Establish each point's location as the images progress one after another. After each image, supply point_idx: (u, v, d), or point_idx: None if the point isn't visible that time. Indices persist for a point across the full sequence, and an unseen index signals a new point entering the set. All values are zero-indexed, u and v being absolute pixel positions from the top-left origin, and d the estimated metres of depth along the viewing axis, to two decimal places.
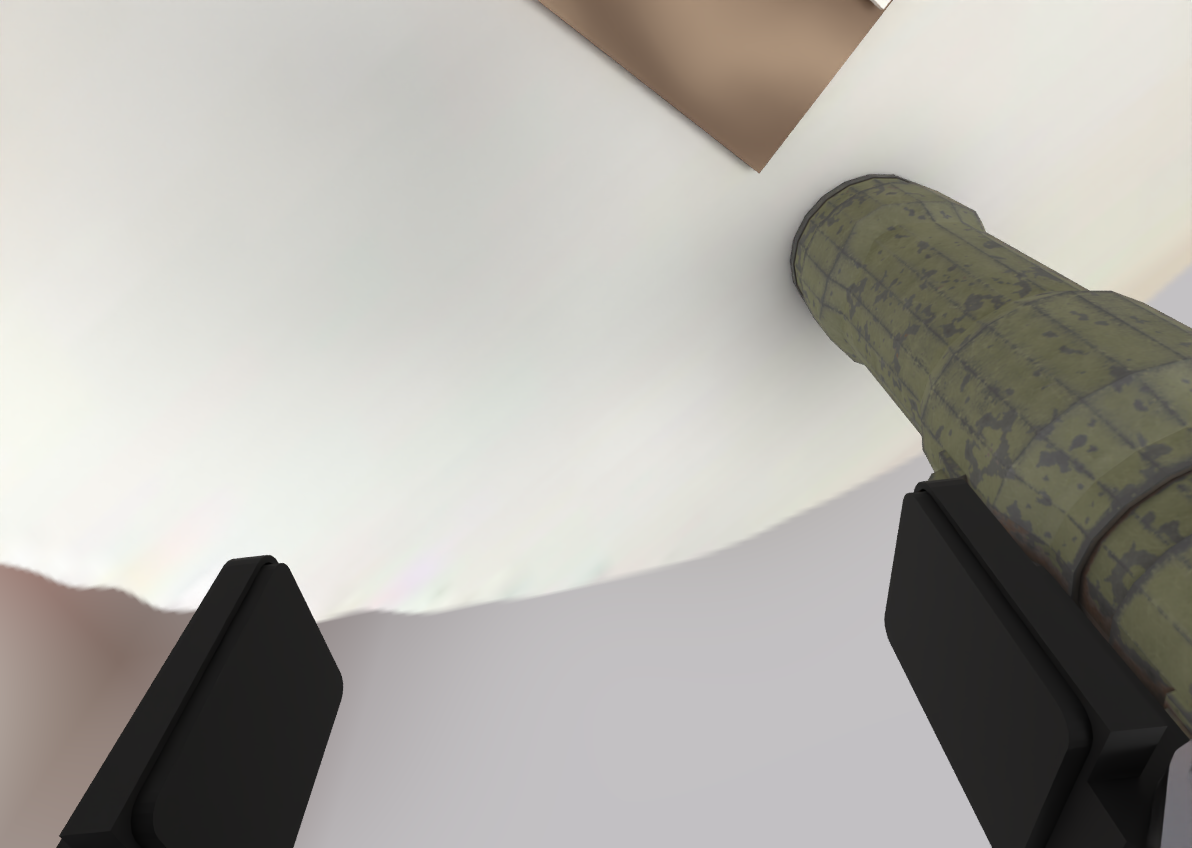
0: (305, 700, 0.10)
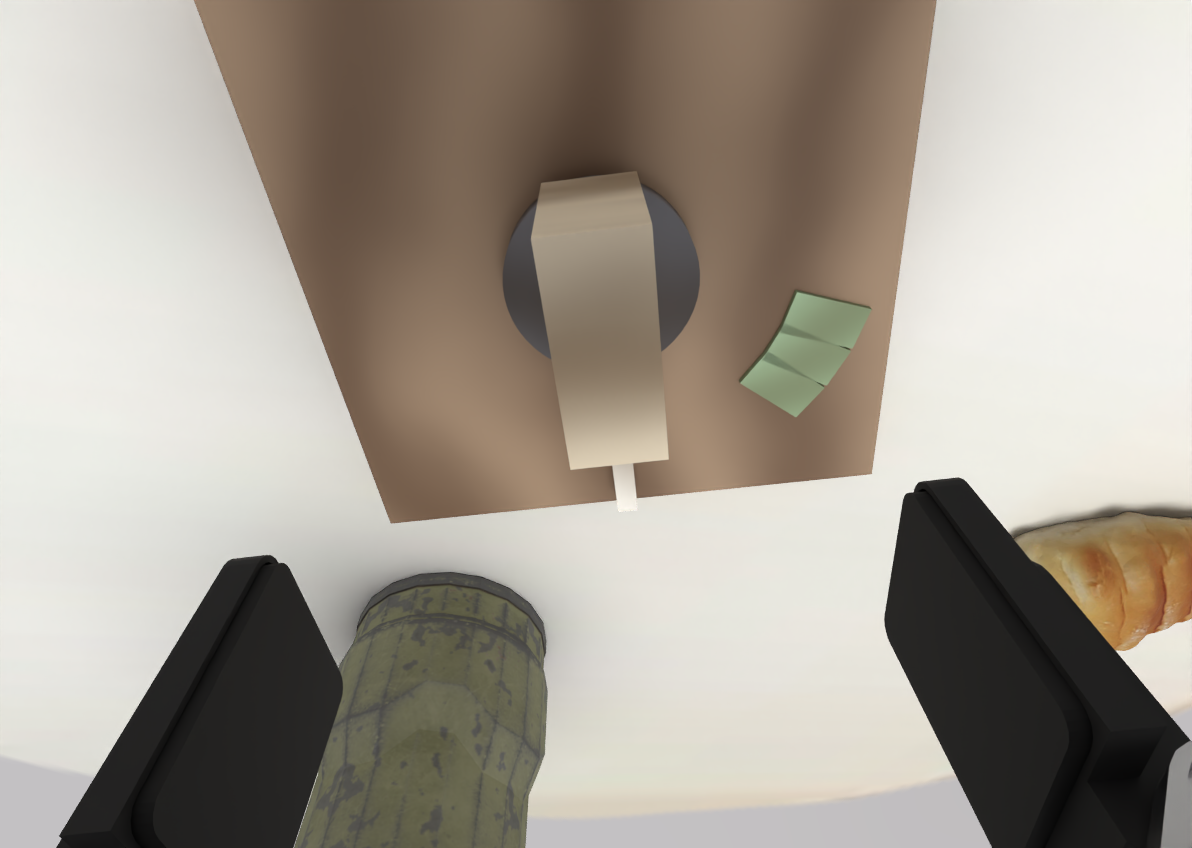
0: (305, 700, 0.10)
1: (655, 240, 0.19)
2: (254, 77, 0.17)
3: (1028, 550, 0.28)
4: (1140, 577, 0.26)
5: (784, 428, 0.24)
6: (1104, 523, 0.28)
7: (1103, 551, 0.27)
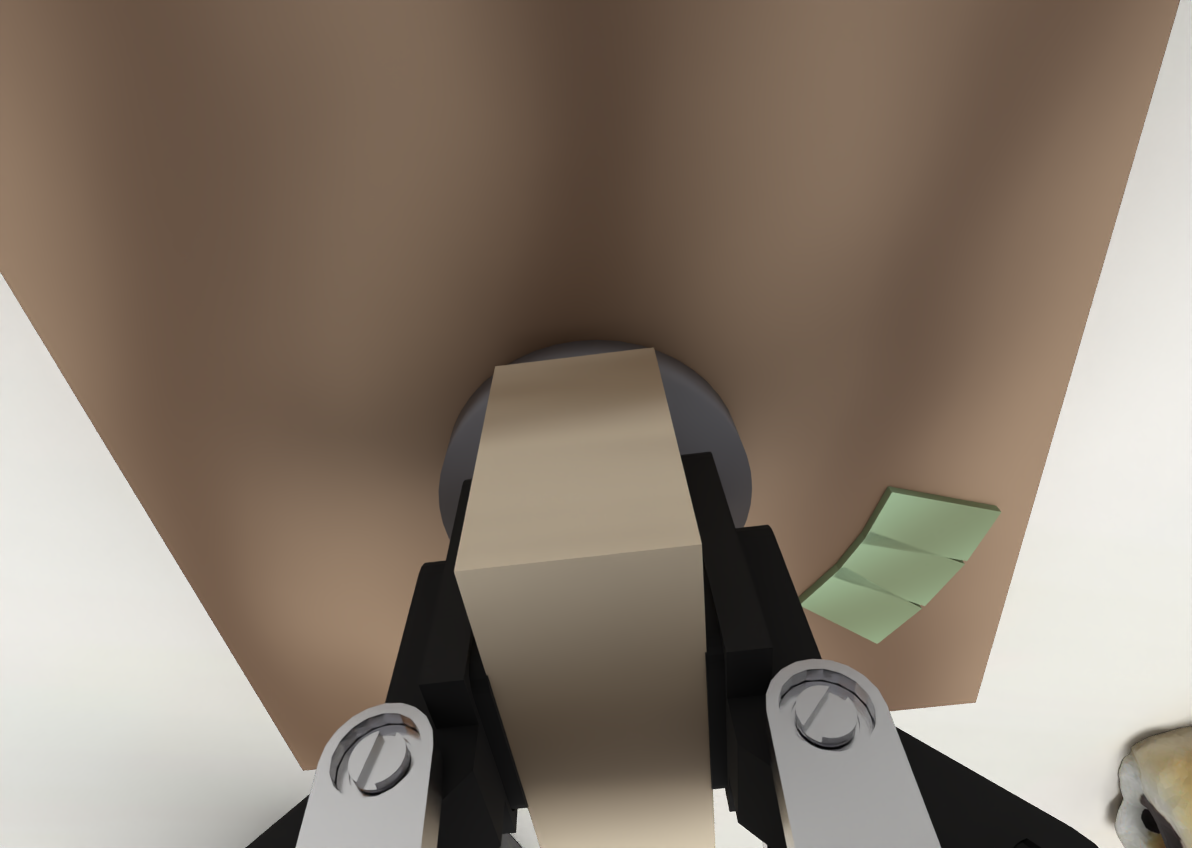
0: None
1: (682, 444, 0.12)
2: (9, 197, 0.10)
3: (1168, 768, 0.20)
4: None
5: (858, 653, 0.17)
6: None
7: None
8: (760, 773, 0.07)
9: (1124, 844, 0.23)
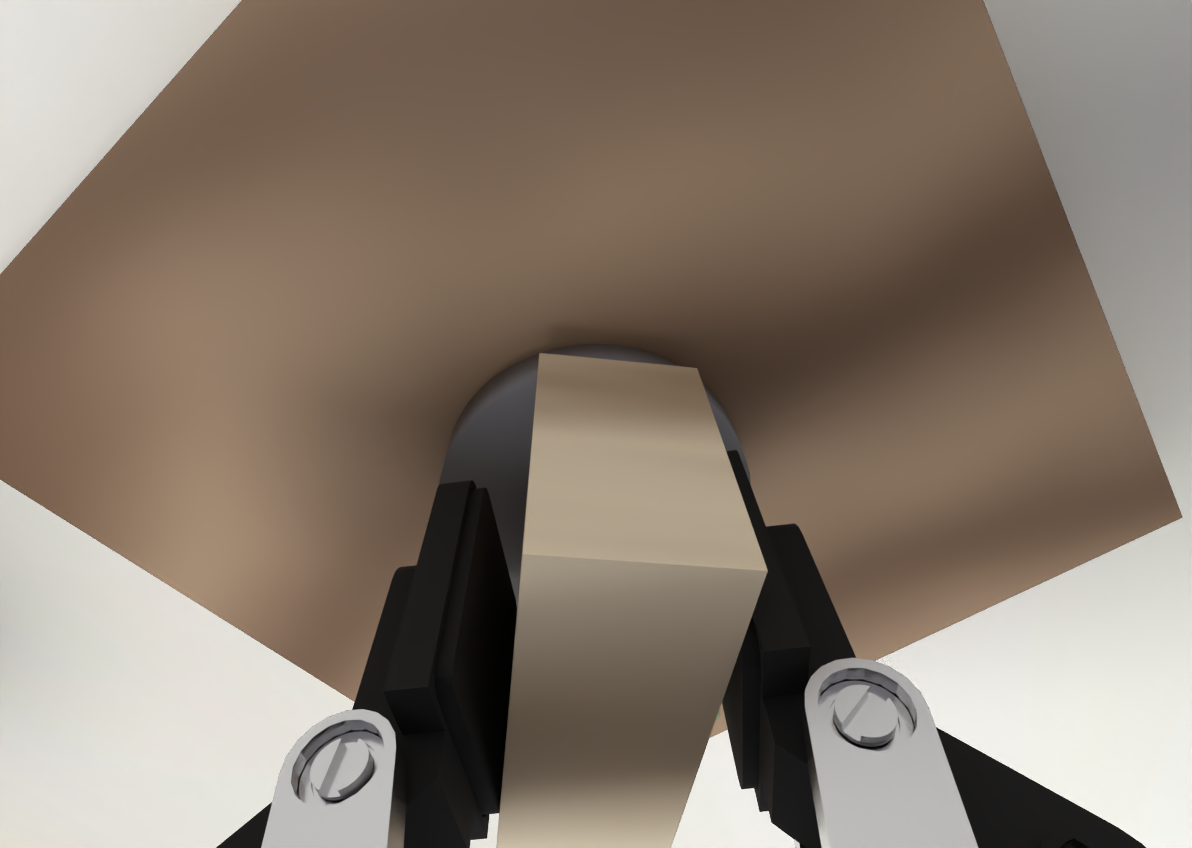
0: (503, 614, 0.11)
1: None
2: None
3: None
4: None
5: None
6: None
7: None
8: (798, 773, 0.07)
9: None
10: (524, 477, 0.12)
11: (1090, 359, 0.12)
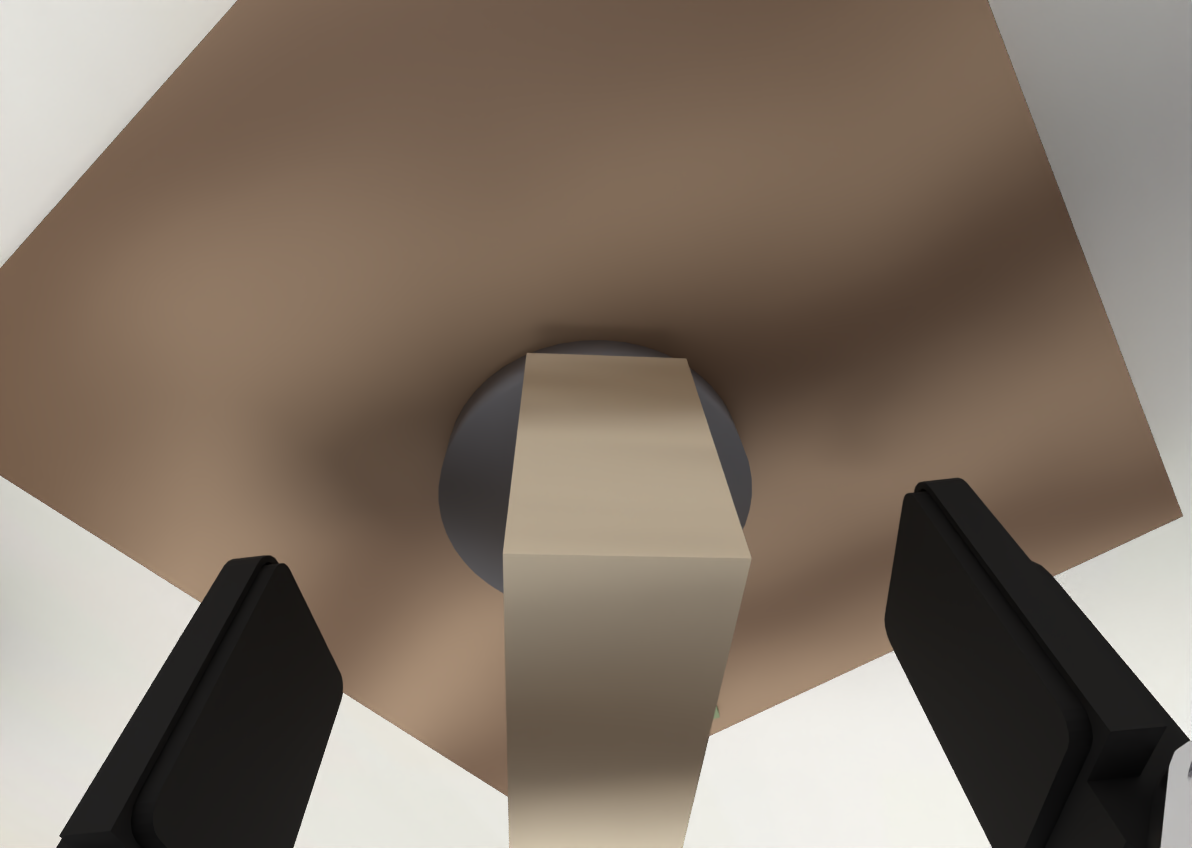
0: (305, 700, 0.10)
1: None
2: None
3: None
4: None
5: None
6: None
7: None
8: None
9: None
10: None
11: (1091, 357, 0.12)
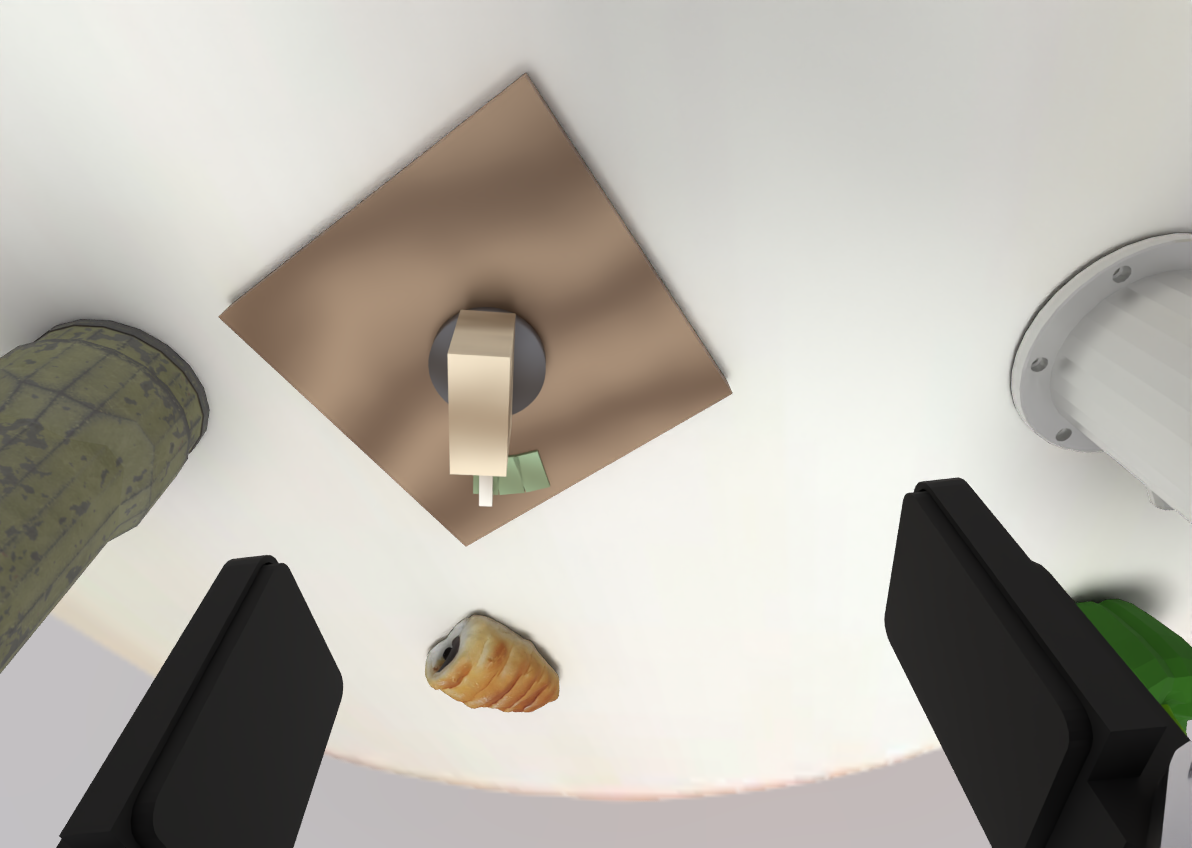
0: (305, 700, 0.10)
1: (521, 350, 0.32)
2: (481, 136, 0.28)
3: (479, 624, 0.44)
4: (509, 672, 0.45)
5: (462, 492, 0.38)
6: (518, 638, 0.46)
7: (507, 649, 0.45)
8: None
9: (428, 657, 0.46)
10: None
11: (675, 323, 0.33)
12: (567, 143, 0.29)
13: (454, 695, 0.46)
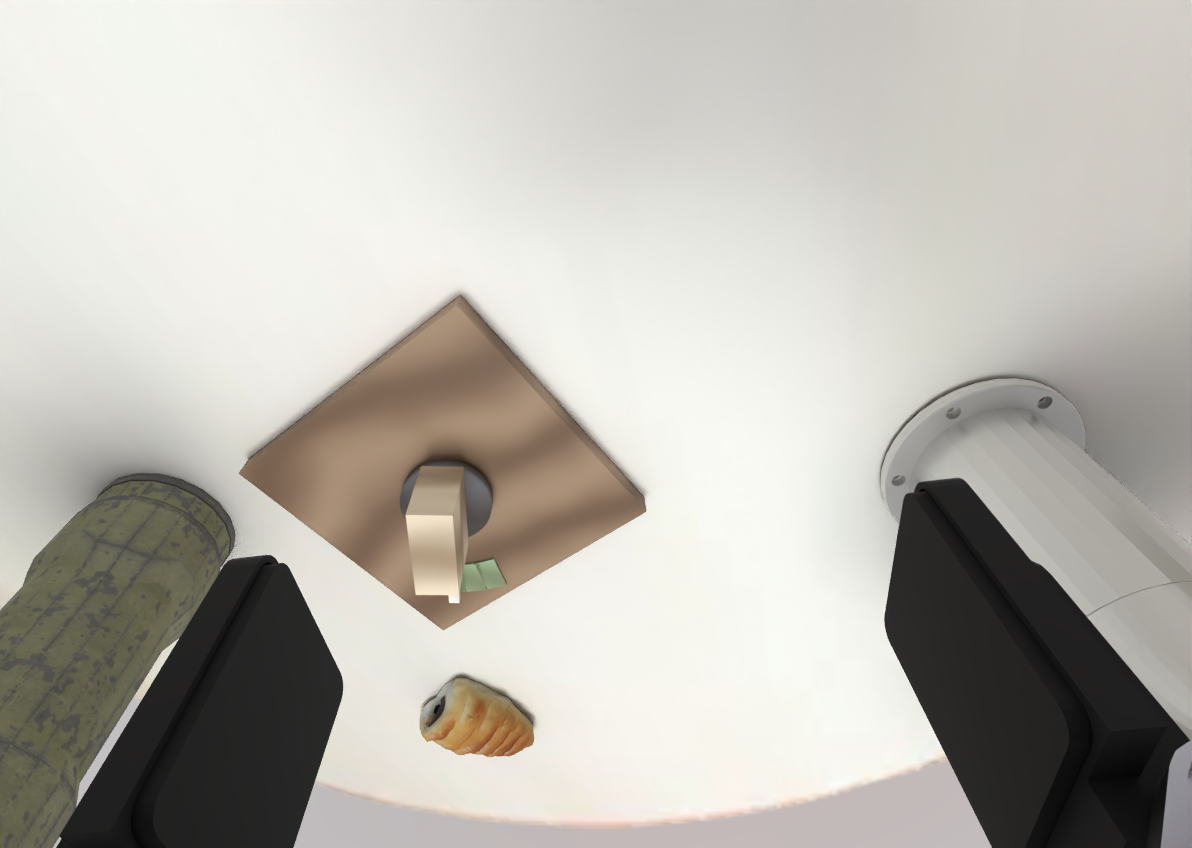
0: (305, 700, 0.10)
1: (471, 492, 0.41)
2: (428, 345, 0.37)
3: (460, 686, 0.54)
4: (487, 725, 0.53)
5: None
6: (496, 695, 0.55)
7: (485, 706, 0.54)
8: None
9: (421, 713, 0.56)
10: None
11: (593, 463, 0.42)
12: (493, 346, 0.38)
13: (443, 745, 0.55)
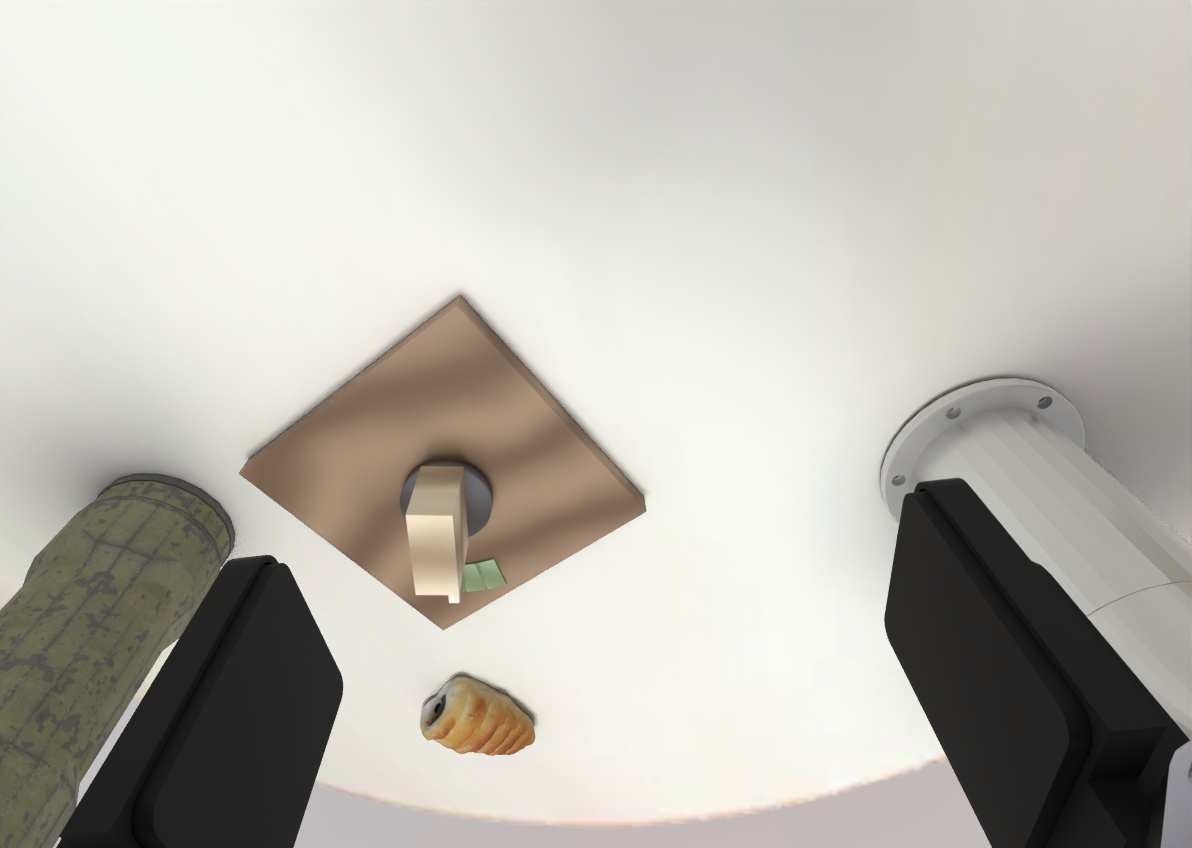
0: (305, 700, 0.10)
1: (471, 492, 0.41)
2: (428, 345, 0.37)
3: (461, 685, 0.53)
4: (488, 724, 0.53)
5: None
6: (496, 694, 0.55)
7: (485, 704, 0.54)
8: None
9: (422, 712, 0.55)
10: None
11: (593, 463, 0.42)
12: (493, 346, 0.38)
13: (444, 744, 0.54)
